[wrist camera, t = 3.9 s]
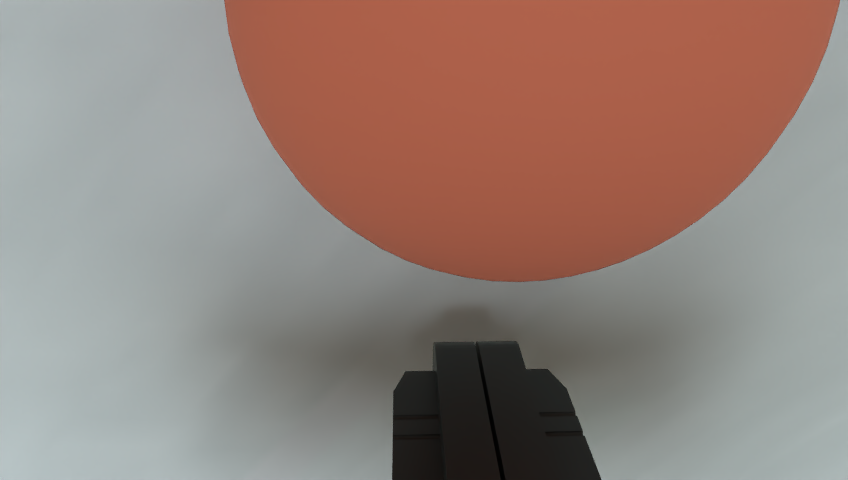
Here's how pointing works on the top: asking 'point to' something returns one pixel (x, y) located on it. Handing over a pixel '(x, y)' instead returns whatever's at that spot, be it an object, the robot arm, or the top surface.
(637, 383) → the top surface
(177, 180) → the top surface
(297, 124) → the ball
